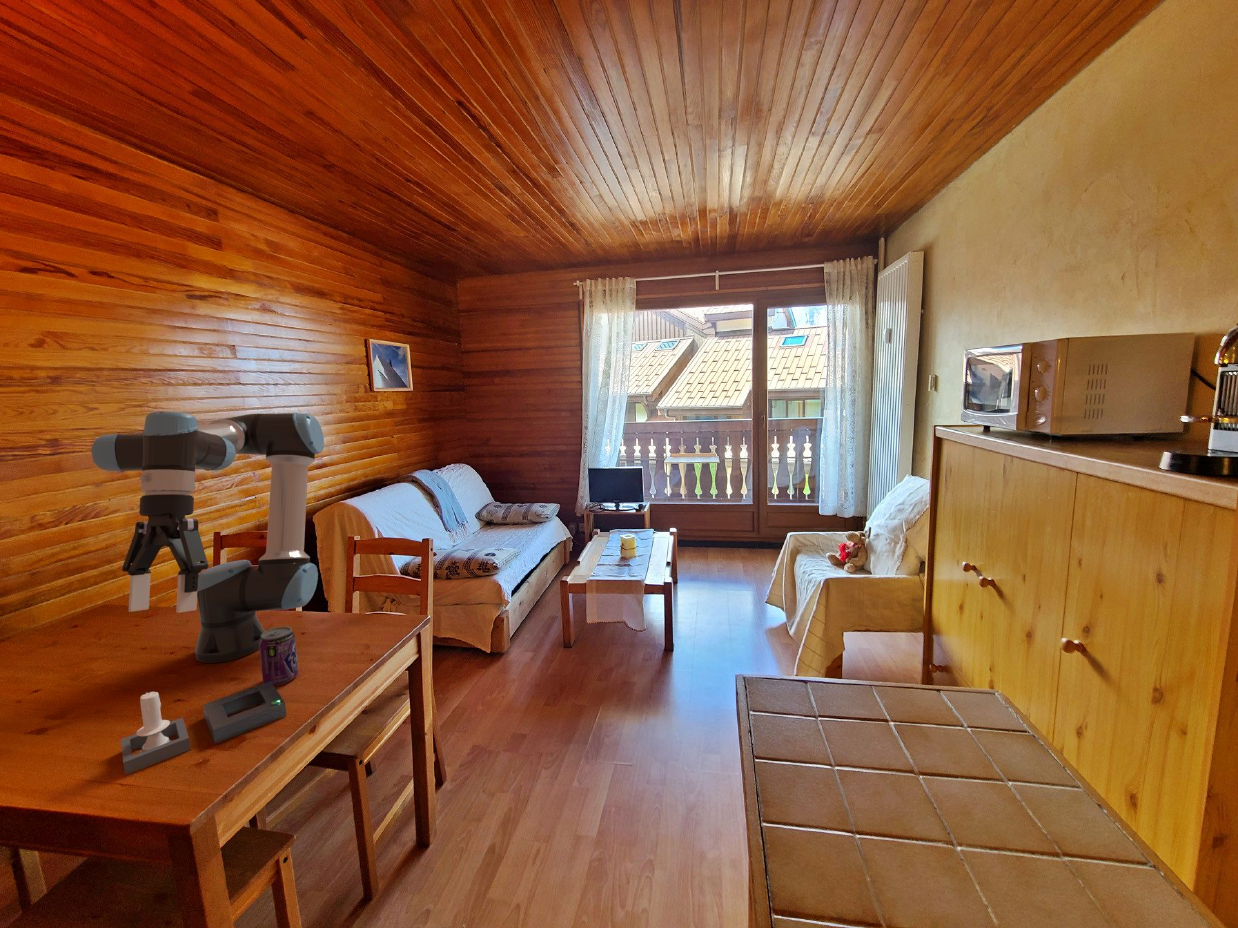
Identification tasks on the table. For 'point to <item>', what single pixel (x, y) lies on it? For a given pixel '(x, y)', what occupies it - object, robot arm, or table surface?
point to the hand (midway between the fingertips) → (161, 611)
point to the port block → (246, 720)
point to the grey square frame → (157, 752)
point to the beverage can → (278, 655)
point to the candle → (152, 721)
